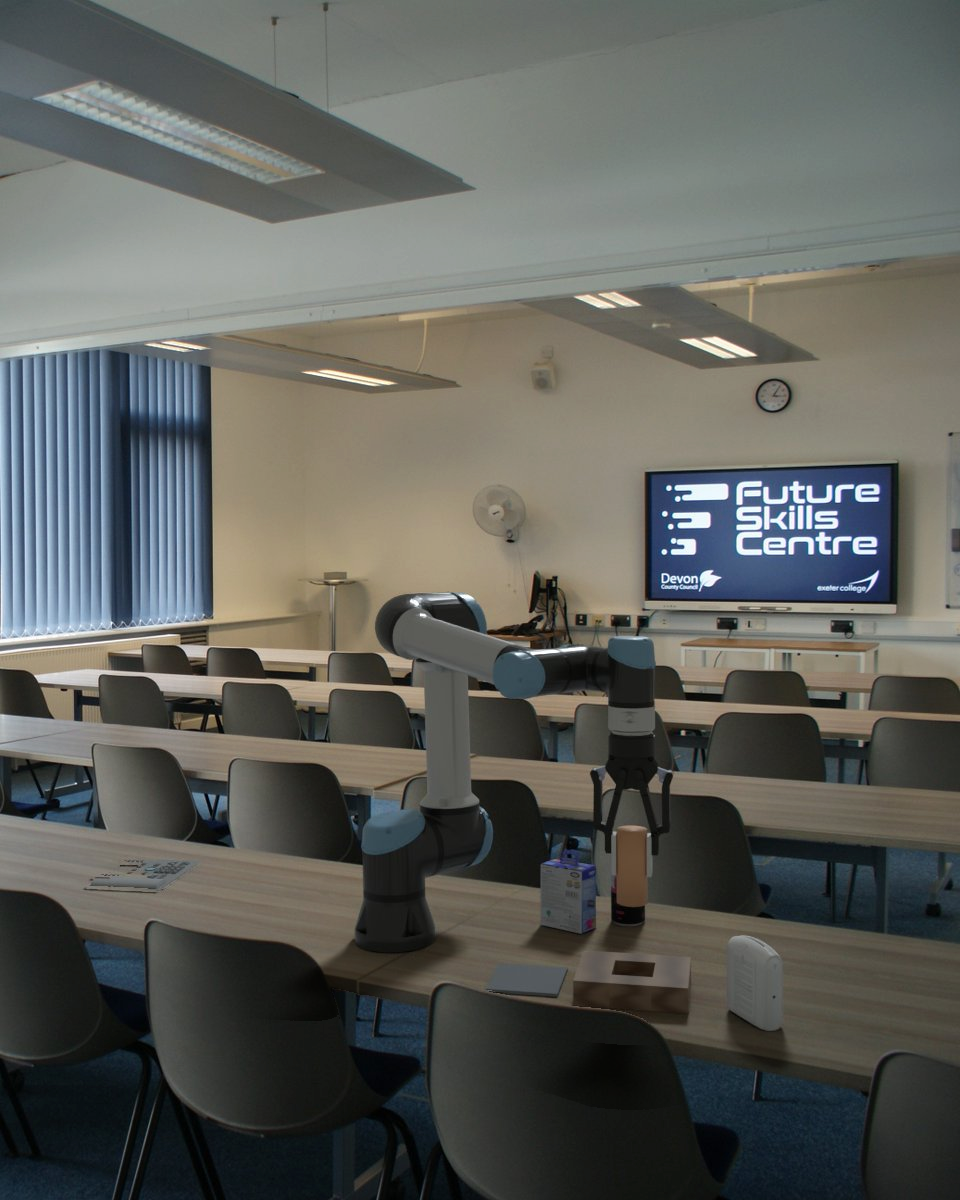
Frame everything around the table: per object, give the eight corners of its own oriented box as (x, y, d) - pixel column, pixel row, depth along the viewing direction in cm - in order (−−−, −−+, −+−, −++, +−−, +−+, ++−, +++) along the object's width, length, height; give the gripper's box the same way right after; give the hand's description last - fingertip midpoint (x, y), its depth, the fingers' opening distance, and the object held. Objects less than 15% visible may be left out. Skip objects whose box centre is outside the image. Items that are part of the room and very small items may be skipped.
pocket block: (573, 1005, 180) (573, 980, 180) (584, 973, 193) (584, 950, 193) (688, 1013, 176) (688, 988, 176) (691, 980, 190) (691, 957, 189)
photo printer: (787, 1028, 170) (787, 947, 170) (764, 1033, 168) (764, 951, 168) (745, 1004, 179) (744, 927, 179) (722, 1009, 178) (722, 931, 177)
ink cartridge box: (598, 927, 217) (597, 853, 217) (582, 935, 213) (582, 859, 212) (555, 918, 223) (554, 845, 223) (539, 925, 219) (538, 851, 218)
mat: (485, 991, 186) (485, 988, 186) (499, 965, 198) (499, 963, 198) (557, 996, 183) (557, 993, 183) (567, 970, 195) (567, 967, 195)
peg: (615, 905, 182) (614, 832, 182) (618, 896, 187) (617, 824, 187) (646, 907, 181) (646, 833, 181) (648, 898, 186) (648, 826, 186)
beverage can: (622, 928, 216) (621, 851, 216) (605, 919, 222) (604, 843, 222) (651, 924, 219) (650, 847, 218) (633, 914, 225) (633, 839, 224)
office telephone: (159, 884, 244) (72, 881, 247) (159, 896, 244) (73, 893, 247) (201, 854, 267) (122, 852, 270) (202, 865, 267) (122, 863, 270)
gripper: (573, 734, 181) (574, 877, 182) (687, 737, 178) (687, 883, 179) (579, 726, 189) (580, 864, 190) (688, 729, 185) (688, 870, 186)
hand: (632, 873), depth 184 cm, fingers closed on peg, 5 cm apart
